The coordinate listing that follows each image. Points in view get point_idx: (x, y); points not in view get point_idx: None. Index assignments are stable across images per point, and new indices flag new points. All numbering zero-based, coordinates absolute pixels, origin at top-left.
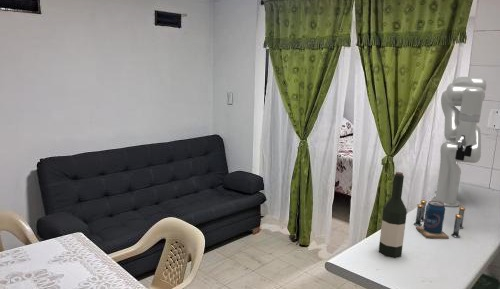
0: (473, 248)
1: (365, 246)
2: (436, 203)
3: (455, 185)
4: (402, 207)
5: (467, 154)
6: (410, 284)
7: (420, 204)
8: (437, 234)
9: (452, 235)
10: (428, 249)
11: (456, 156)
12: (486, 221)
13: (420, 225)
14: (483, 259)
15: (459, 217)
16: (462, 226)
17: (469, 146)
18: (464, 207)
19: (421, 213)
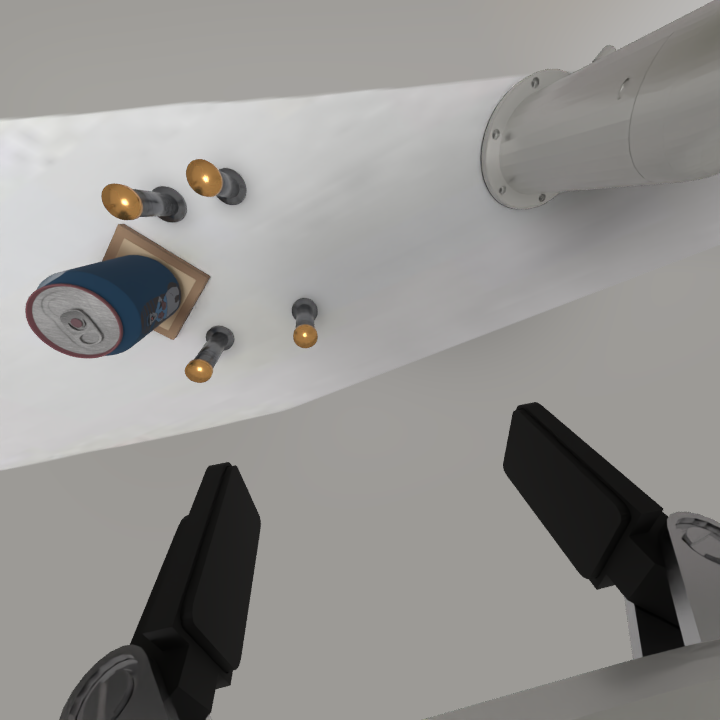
0: (192, 399)
1: None
2: (80, 323)
3: (582, 182)
4: None
5: (519, 465)
6: None
7: (131, 196)
8: None
9: (207, 334)
10: (25, 342)
11: (199, 507)
12: (431, 333)
13: (165, 220)
14: (155, 437)
15: (191, 377)
16: (315, 316)
17: (626, 592)
18: (315, 341)
19: (145, 216)
